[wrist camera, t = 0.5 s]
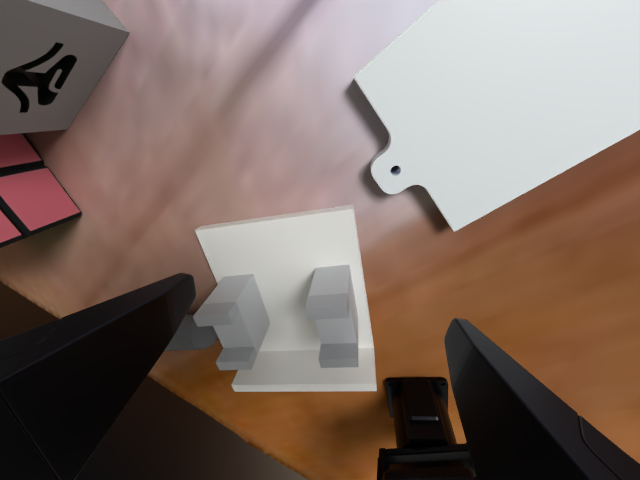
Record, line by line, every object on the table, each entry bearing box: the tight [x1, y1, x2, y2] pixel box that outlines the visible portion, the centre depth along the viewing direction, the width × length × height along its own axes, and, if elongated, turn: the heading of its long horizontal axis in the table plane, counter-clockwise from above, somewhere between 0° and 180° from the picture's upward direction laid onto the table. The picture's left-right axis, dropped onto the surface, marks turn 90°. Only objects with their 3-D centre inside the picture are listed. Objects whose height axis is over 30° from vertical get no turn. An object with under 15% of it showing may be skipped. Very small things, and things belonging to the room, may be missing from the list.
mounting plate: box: [354, 0, 640, 232], centre depth 17 cm, size 18×13×2 cm
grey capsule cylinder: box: [164, 314, 218, 351], centre depth 29 cm, size 12×4×4 cm, turn 101°
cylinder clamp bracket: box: [193, 205, 377, 392], centre depth 24 cm, size 16×14×6 cm
